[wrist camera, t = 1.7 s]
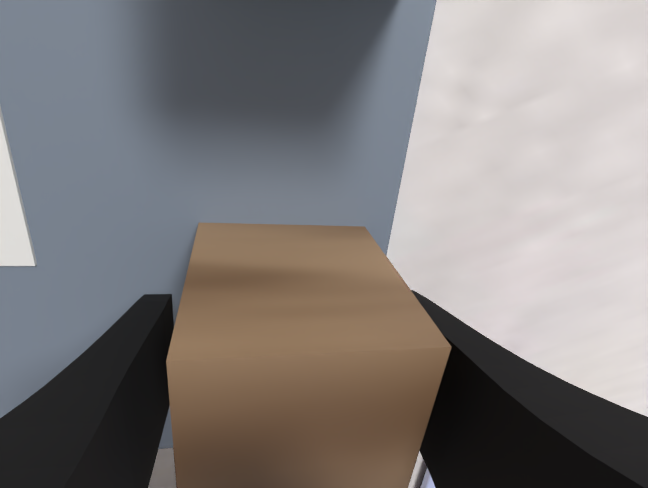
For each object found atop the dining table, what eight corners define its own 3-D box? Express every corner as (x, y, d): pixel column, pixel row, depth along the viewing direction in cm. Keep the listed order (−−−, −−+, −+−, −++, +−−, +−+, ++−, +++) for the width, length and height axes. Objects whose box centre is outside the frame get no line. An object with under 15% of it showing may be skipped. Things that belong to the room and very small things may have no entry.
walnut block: (344, 350, 13) (400, 510, 8) (203, 357, 12) (181, 542, 7) (364, 226, 11) (451, 346, 6) (198, 222, 10) (165, 361, 5)
